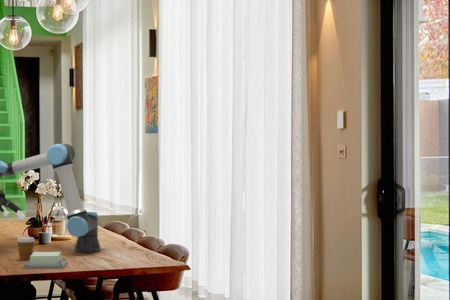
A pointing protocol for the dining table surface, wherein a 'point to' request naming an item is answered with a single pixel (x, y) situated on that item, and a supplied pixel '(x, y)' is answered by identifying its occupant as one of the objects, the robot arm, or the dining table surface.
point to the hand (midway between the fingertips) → (15, 217)
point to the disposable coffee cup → (25, 247)
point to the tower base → (61, 265)
